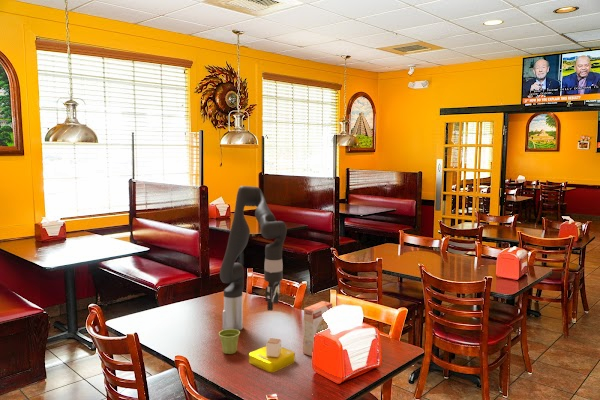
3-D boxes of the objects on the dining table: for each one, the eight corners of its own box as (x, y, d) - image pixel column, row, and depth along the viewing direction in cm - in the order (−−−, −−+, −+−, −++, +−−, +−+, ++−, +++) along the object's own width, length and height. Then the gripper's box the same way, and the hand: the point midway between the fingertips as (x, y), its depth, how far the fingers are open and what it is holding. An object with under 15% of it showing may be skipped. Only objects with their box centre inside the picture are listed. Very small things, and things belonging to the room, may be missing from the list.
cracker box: (313, 357, 210) (313, 310, 208) (302, 353, 214) (302, 307, 212) (332, 347, 221) (332, 302, 219) (321, 343, 225) (322, 300, 223)
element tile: (246, 363, 206) (246, 352, 205) (272, 352, 217) (272, 341, 216) (271, 374, 196) (271, 363, 195) (296, 362, 207) (296, 351, 206)
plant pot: (215, 350, 217) (214, 331, 216) (233, 345, 223) (233, 327, 222) (225, 357, 210) (225, 338, 209) (244, 352, 215) (244, 333, 214)
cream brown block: (266, 355, 202) (266, 342, 202) (269, 350, 207) (269, 337, 206) (277, 357, 201) (277, 343, 200) (281, 352, 206) (281, 338, 205)
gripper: (269, 264, 209) (269, 300, 211) (259, 272, 195) (259, 311, 197) (286, 265, 207) (286, 301, 209) (277, 274, 193) (277, 313, 195)
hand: (273, 306), depth 203 cm, fingers open, 8 cm apart
